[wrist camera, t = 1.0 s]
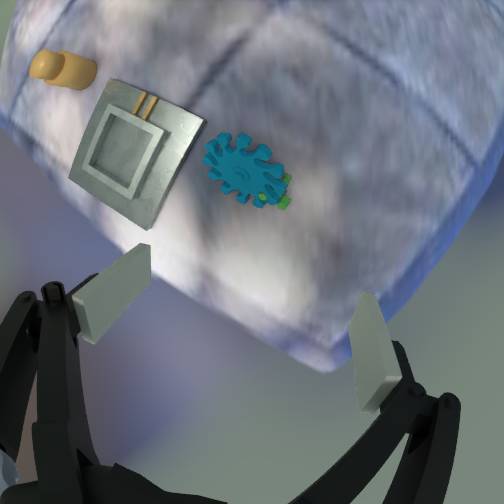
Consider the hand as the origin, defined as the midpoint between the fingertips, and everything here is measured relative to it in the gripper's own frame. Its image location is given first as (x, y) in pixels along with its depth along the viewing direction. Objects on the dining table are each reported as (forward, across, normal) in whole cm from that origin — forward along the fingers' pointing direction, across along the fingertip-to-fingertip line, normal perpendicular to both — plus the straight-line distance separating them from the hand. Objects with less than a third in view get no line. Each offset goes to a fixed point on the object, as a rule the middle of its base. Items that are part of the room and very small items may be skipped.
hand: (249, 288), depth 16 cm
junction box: (+18, -21, +5) cm, 28 cm away
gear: (+19, -4, +4) cm, 20 cm away
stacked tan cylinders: (+18, -32, +17) cm, 41 cm away
